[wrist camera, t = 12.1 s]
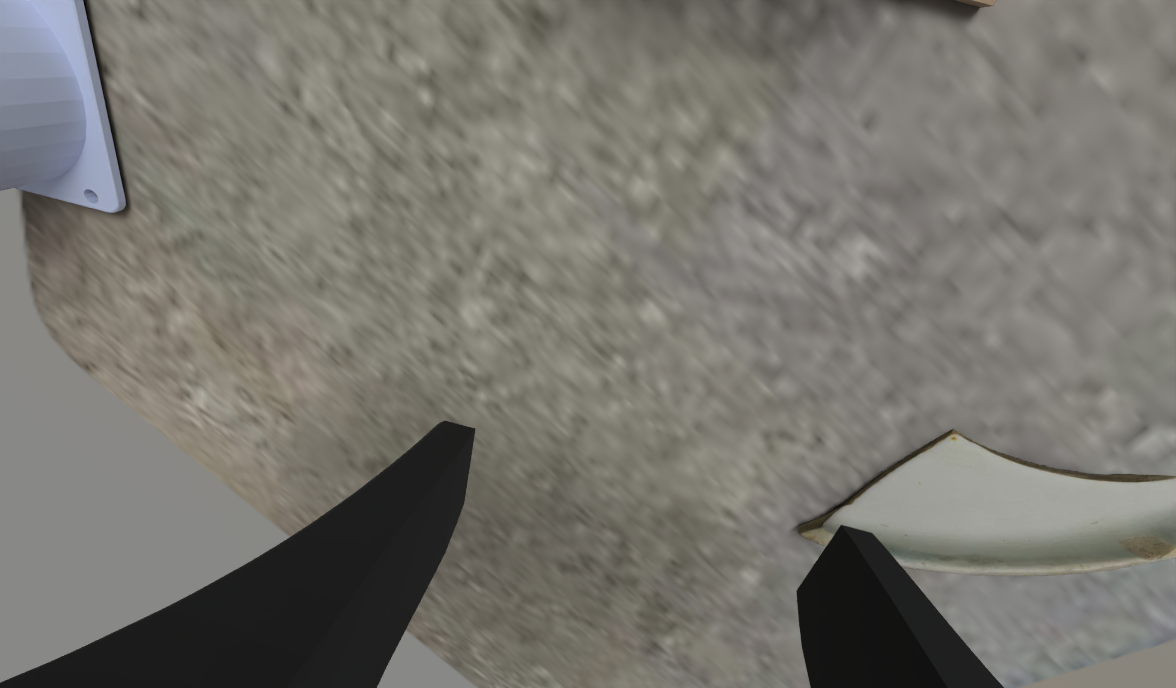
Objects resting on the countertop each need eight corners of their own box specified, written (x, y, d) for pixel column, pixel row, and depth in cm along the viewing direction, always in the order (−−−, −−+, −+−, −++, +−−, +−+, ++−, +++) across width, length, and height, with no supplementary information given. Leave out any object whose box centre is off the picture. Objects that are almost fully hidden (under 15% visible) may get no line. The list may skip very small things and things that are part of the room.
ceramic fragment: (795, 524, 24) (817, 600, 21) (792, 434, 22) (817, 503, 19) (1155, 505, 22) (1246, 588, 18) (1195, 400, 19) (1309, 473, 16)
